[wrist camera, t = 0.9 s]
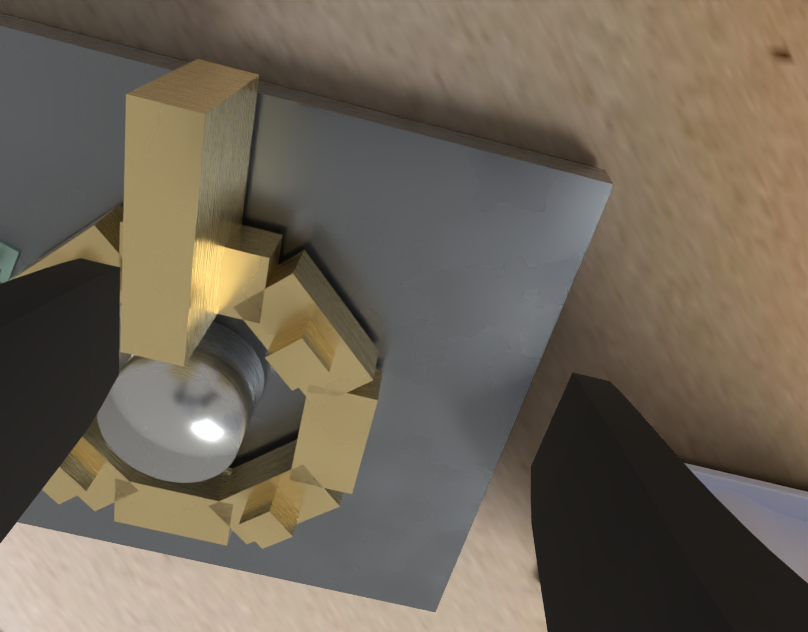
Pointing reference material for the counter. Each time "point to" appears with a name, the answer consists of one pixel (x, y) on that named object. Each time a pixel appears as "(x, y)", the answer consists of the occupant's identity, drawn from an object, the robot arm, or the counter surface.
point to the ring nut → (198, 306)
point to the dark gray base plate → (350, 278)
